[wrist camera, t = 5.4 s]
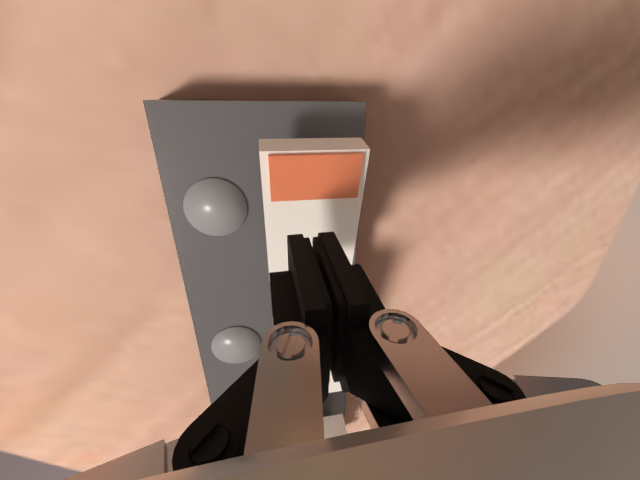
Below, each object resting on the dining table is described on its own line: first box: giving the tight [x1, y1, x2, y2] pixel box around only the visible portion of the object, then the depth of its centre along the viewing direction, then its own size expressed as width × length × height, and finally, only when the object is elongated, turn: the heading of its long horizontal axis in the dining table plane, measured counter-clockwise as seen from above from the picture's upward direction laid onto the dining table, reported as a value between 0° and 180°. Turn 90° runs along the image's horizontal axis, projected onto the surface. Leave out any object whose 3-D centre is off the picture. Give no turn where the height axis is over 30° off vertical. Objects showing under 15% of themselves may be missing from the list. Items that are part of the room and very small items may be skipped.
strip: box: [143, 100, 366, 417], centre depth 19 cm, size 26×9×3 cm, turn 0°
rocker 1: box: [259, 138, 370, 281], centre depth 13 cm, size 6×4×1 cm, turn 179°
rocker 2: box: [323, 414, 347, 439], centre depth 20 cm, size 6×4×1 cm, turn 179°
